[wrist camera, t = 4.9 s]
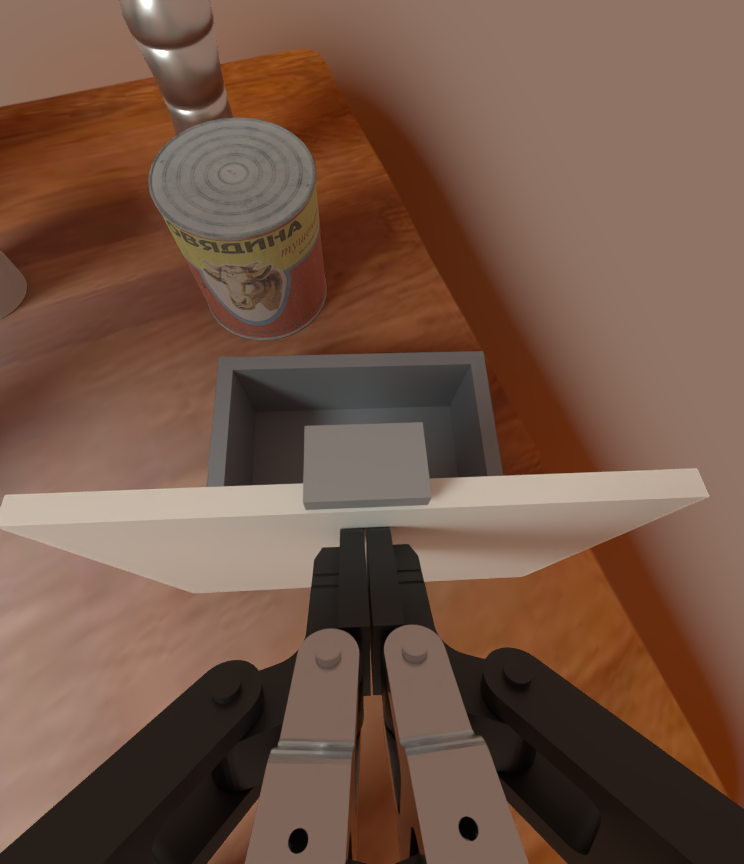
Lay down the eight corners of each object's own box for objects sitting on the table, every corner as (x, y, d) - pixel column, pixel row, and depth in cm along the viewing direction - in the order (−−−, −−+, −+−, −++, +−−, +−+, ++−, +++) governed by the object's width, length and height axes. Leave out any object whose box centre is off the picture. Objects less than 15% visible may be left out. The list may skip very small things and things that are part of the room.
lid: (513, 541, 25) (520, 577, 24) (200, 556, 24) (196, 594, 23) (703, 413, 11) (736, 484, 10) (-6, 435, 10) (-38, 516, 9)
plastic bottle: (258, 163, 46) (191, -131, 27) (253, 210, 44) (176, -77, 25) (197, 162, 46) (87, -136, 27) (189, 209, 43) (63, -82, 25)
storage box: (479, 569, 32) (517, 562, 24) (236, 581, 31) (198, 577, 23) (457, 400, 37) (483, 350, 29) (247, 406, 36) (218, 357, 28)
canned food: (201, 342, 38) (136, 237, 27) (211, 244, 42) (158, 117, 31) (327, 339, 38) (316, 235, 27) (326, 242, 42) (315, 117, 31)
